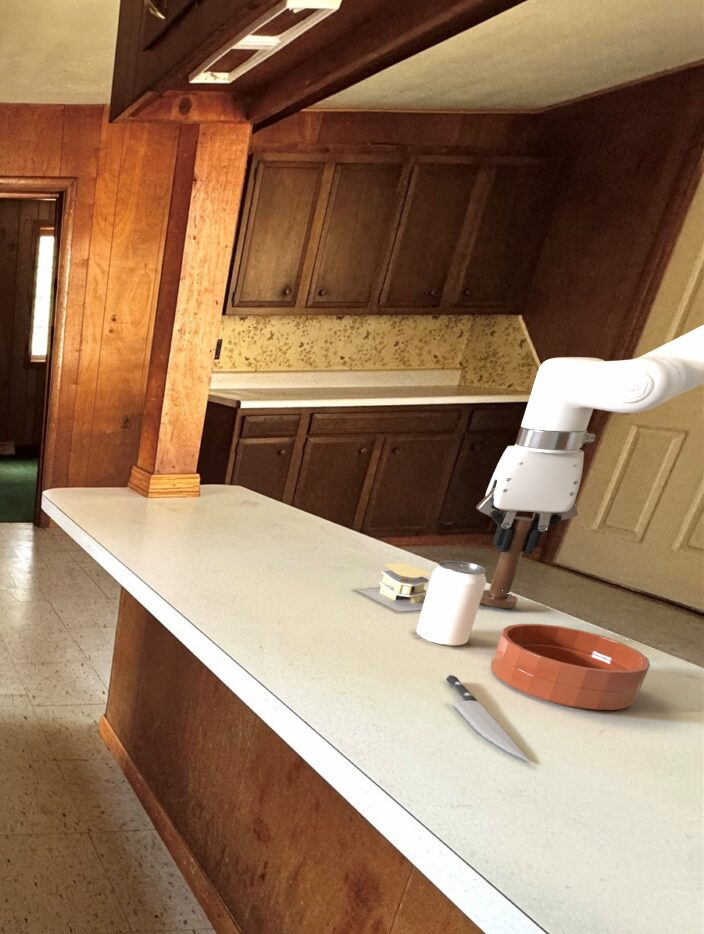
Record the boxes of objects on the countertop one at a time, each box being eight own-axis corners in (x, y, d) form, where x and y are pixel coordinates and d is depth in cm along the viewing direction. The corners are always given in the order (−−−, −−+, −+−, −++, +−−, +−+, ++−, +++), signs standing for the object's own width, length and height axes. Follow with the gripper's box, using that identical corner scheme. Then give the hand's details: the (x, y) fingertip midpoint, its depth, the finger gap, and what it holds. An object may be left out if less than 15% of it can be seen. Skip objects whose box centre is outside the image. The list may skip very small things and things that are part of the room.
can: (422, 643, 103) (443, 571, 98) (410, 626, 108) (429, 557, 104) (473, 649, 100) (497, 576, 96) (458, 632, 106) (480, 561, 101)
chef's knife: (497, 761, 76) (529, 763, 75) (499, 752, 76) (531, 755, 75) (428, 678, 93) (453, 680, 92) (429, 671, 92) (455, 672, 92)
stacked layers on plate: (355, 590, 123) (362, 562, 121) (400, 586, 124) (407, 559, 122) (398, 611, 114) (406, 582, 112) (446, 608, 114) (455, 578, 112)
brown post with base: (508, 598, 115) (536, 515, 110) (520, 609, 111) (550, 524, 105) (471, 594, 117) (497, 513, 112) (482, 605, 113) (509, 521, 107)
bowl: (598, 669, 94) (613, 631, 92) (657, 722, 82) (676, 680, 79) (474, 654, 99) (486, 618, 97) (512, 702, 87) (527, 661, 85)
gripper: (603, 438, 104) (564, 548, 111) (476, 434, 110) (446, 539, 117) (630, 446, 98) (586, 562, 104) (493, 442, 104) (460, 552, 110)
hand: (512, 549), depth 111 cm, fingers closed on brown post with base, 2 cm apart
